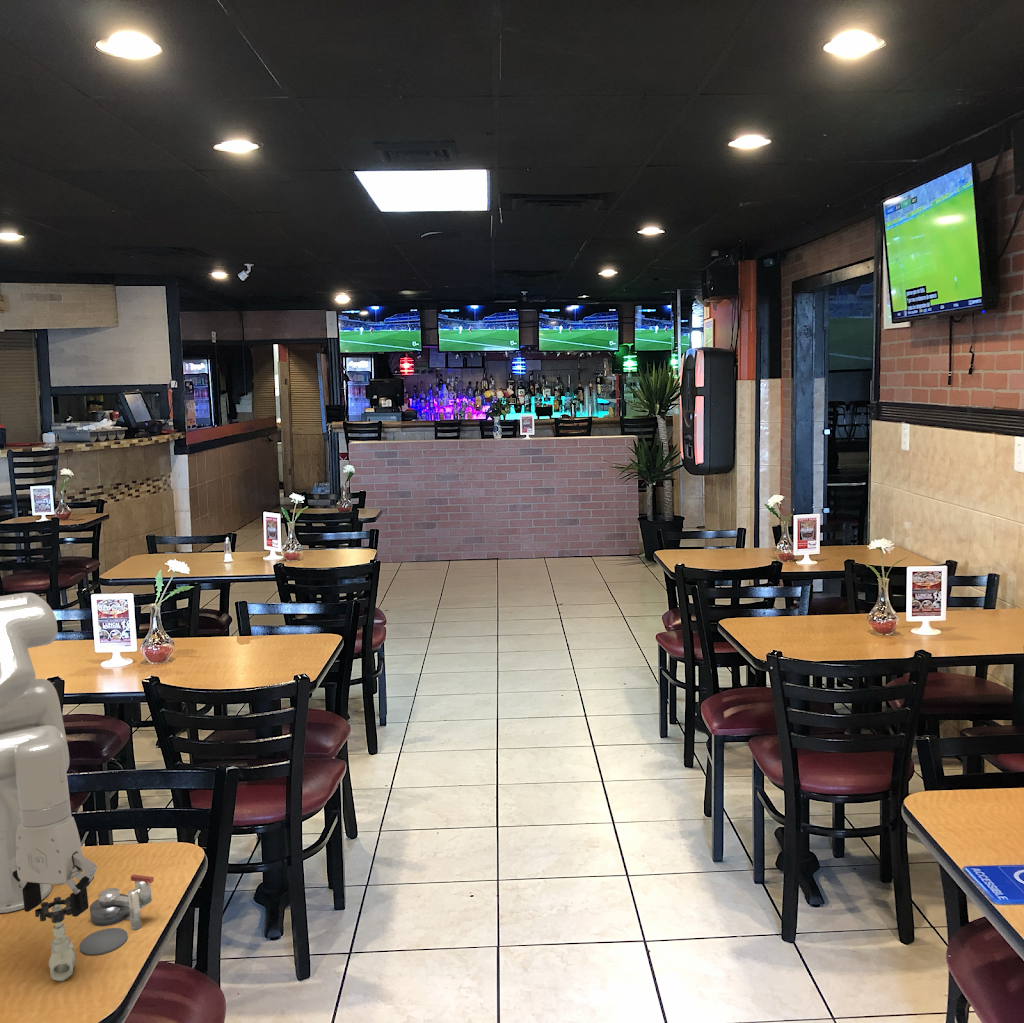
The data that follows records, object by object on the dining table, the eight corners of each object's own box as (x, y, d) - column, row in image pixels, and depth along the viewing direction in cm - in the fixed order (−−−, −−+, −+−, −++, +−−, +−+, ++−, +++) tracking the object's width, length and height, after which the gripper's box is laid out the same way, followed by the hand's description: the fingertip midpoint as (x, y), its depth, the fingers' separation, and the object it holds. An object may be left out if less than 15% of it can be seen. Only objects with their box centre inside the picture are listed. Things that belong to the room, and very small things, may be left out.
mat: (69, 952, 165) (69, 950, 165) (100, 927, 172) (100, 925, 172) (107, 957, 162) (106, 955, 162) (137, 932, 170) (137, 930, 170)
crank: (95, 905, 175) (92, 875, 174) (108, 895, 178) (105, 866, 178) (148, 913, 171) (145, 882, 171) (161, 903, 175) (158, 873, 174)
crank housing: (82, 923, 174) (78, 888, 173) (108, 904, 181) (105, 869, 180) (136, 930, 171) (133, 894, 170) (161, 910, 177) (157, 875, 176)
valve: (40, 988, 154) (33, 920, 153) (43, 967, 160) (36, 901, 159) (84, 977, 157) (77, 910, 156) (85, 956, 163) (78, 892, 162)
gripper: (-14, 818, 155) (-3, 917, 156) (72, 824, 150) (83, 926, 151) (21, 800, 162) (32, 895, 163) (104, 806, 157) (114, 903, 158)
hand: (56, 910), depth 157 cm, fingers open, 9 cm apart
